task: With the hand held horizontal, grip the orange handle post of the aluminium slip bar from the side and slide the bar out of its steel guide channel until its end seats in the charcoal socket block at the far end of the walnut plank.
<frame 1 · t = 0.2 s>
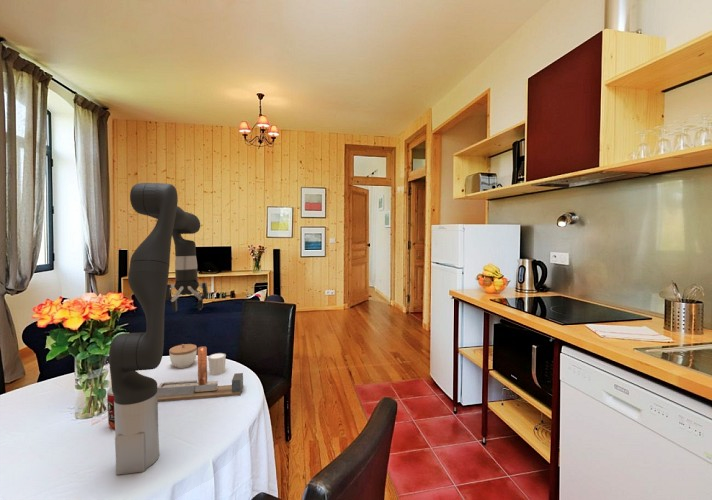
hand: (187, 310, 128), 29 cm above the table, tool pointing down, fingers open, 8 cm apart
guide sleeve: (177, 388, 120), on the plank, point 3 cm above the table
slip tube: (189, 369, 121), point 9 cm above the table, slide at 0.0 cm
socket block: (237, 382, 124), on the plank, point 3 cm above the table
beige cylindrical piece: (217, 372, 141), on the table
lidded jar: (183, 365, 148), on the table
plank: (182, 395, 121), on the table
canned food: (124, 423, 104), on the table
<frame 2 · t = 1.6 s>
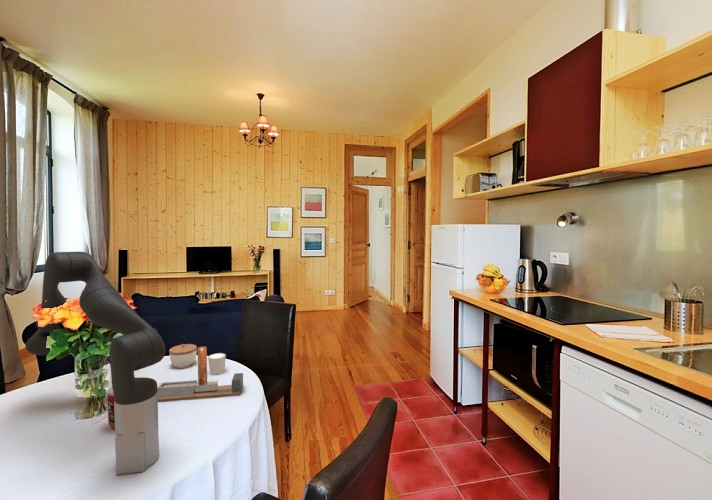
hand: (151, 335, 119), 22 cm above the table, tool horizontal, fingers open, 8 cm apart
nothing on the table moved.
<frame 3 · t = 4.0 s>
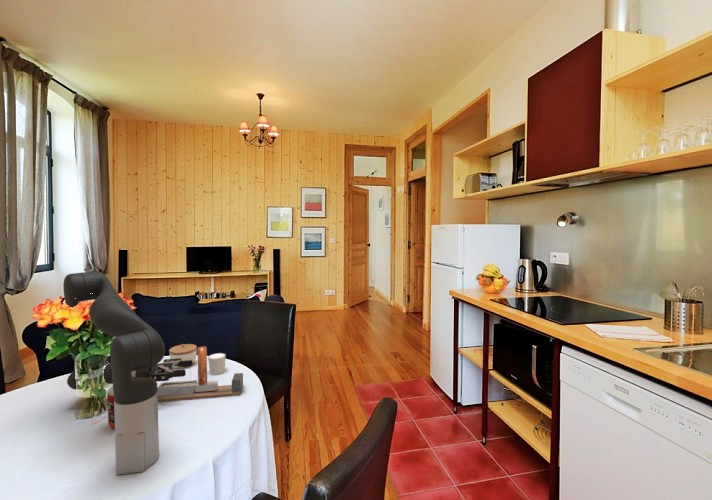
hand: (188, 367, 121), 10 cm above the table, tool horizontal, fingers open, 8 cm apart
nothing on the table moved.
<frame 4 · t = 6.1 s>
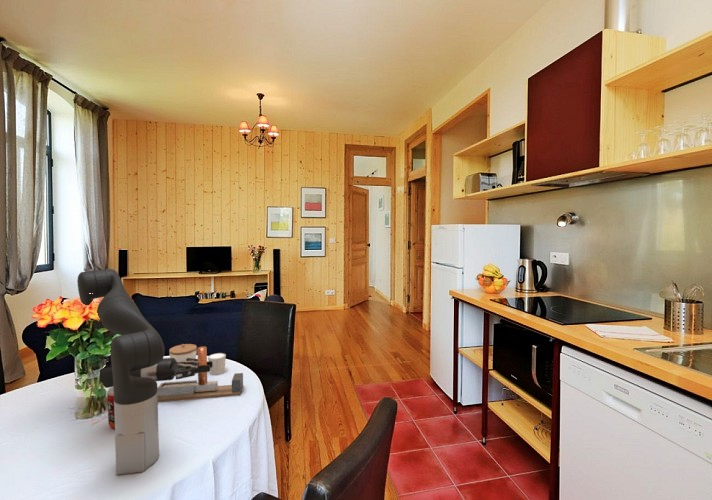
hand: (210, 366, 122), 10 cm above the table, tool horizontal, fingers closed on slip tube, 3 cm apart
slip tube: (190, 369, 121), point 9 cm above the table, slide at 0.0 cm, touching gripper
everything else where it was.
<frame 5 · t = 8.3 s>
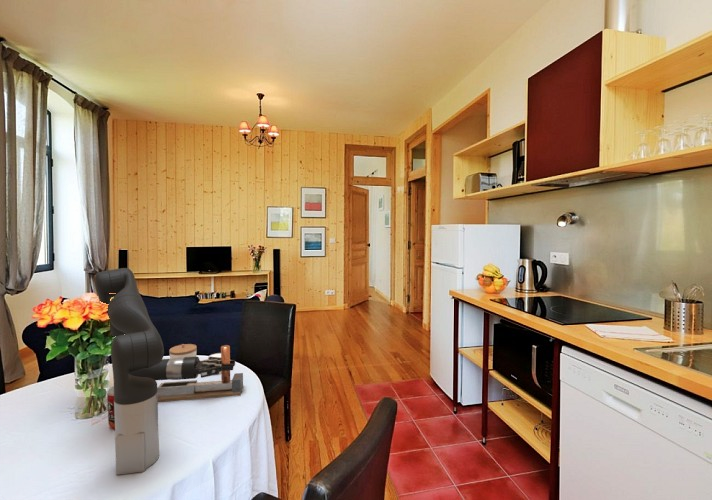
hand: (233, 364, 124), 10 cm above the table, tool horizontal, fingers closed on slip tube, 3 cm apart
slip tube: (213, 368, 122), point 9 cm above the table, slide at 7.9 cm, touching gripper
everything else where it was.
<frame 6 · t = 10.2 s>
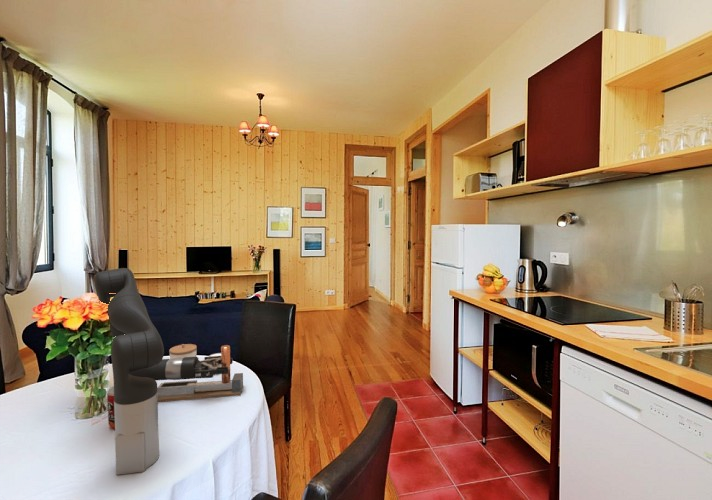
hand: (230, 365, 123), 10 cm above the table, tool horizontal, fingers open, 8 cm apart
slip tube: (213, 368, 122), point 9 cm above the table, slide at 8.0 cm
everything else where it was.
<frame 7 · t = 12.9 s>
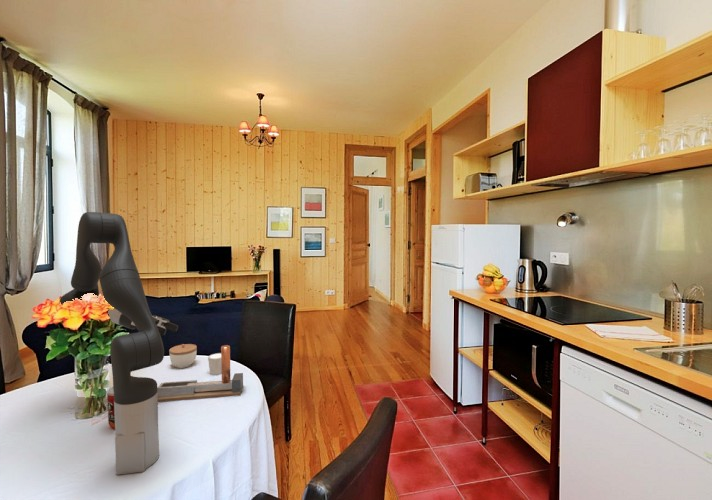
hand: (171, 330, 116), 25 cm above the table, tool tilted 70°, fingers open, 8 cm apart
nothing on the table moved.
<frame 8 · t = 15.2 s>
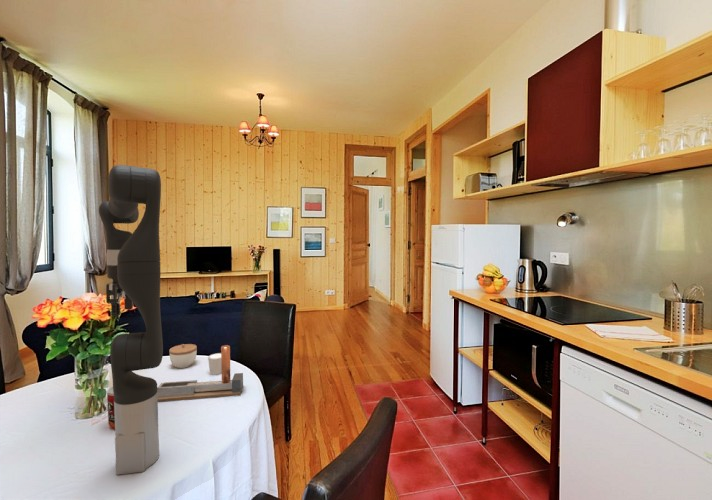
hand: (122, 312, 111), 32 cm above the table, tool pointing down, fingers open, 8 cm apart
nothing on the table moved.
at the end: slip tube slide at 8.0 cm; the gripper is holding nothing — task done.
